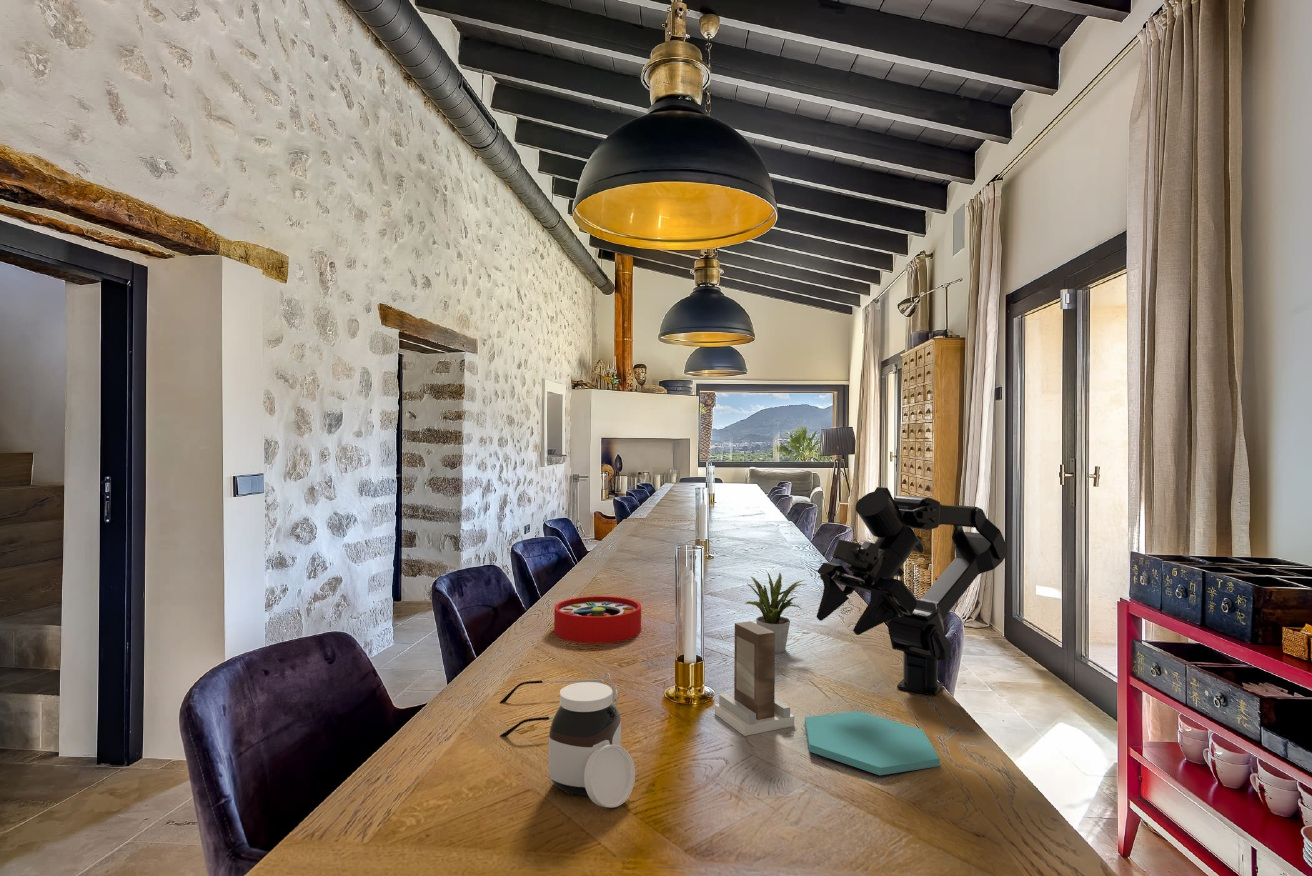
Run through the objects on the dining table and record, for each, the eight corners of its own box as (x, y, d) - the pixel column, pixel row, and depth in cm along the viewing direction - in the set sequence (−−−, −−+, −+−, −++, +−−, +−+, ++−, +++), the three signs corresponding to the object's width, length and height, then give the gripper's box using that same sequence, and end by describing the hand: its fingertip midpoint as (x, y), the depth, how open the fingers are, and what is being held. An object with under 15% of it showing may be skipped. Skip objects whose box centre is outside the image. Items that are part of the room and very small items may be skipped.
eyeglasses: (625, 732, 104) (625, 699, 104) (499, 743, 99) (499, 709, 99) (608, 693, 119) (608, 665, 119) (499, 702, 115) (499, 672, 115)
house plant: (817, 662, 135) (817, 580, 135) (747, 661, 135) (747, 579, 135) (803, 641, 149) (803, 566, 149) (739, 640, 150) (740, 566, 150)
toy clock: (653, 613, 151) (564, 620, 145) (652, 639, 151) (564, 648, 145) (626, 593, 170) (547, 599, 164) (626, 617, 170) (547, 623, 163)
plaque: (883, 720, 110) (776, 733, 103) (884, 708, 110) (776, 719, 103) (968, 768, 94) (847, 787, 87) (968, 753, 94) (847, 771, 87)
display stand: (762, 705, 113) (762, 687, 113) (794, 725, 105) (794, 706, 105) (714, 713, 110) (714, 695, 110) (744, 736, 101) (744, 715, 101)
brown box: (750, 700, 111) (750, 621, 111) (774, 716, 105) (774, 632, 105) (733, 703, 110) (733, 623, 110) (756, 720, 103) (757, 634, 103)
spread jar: (577, 759, 94) (577, 674, 94) (653, 774, 90) (654, 686, 90) (530, 802, 83) (531, 706, 83) (615, 821, 78) (616, 720, 78)
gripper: (826, 517, 123) (774, 583, 118) (903, 529, 106) (846, 607, 101) (860, 557, 126) (811, 623, 121) (940, 576, 109) (887, 653, 104)
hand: (836, 625), depth 112 cm, fingers open, 9 cm apart
